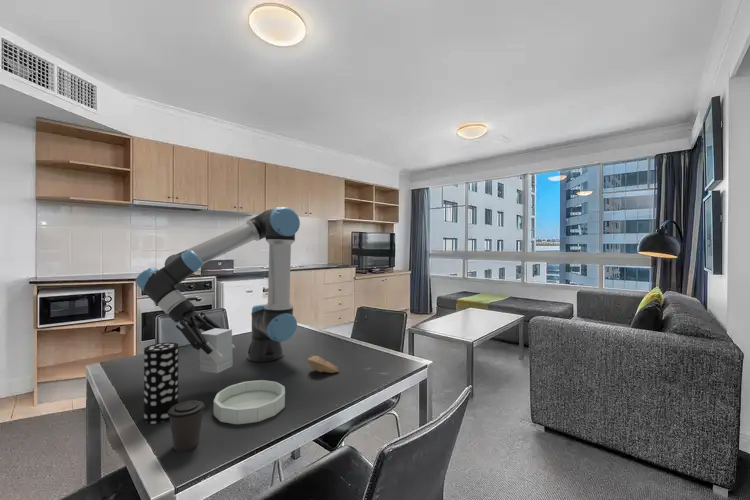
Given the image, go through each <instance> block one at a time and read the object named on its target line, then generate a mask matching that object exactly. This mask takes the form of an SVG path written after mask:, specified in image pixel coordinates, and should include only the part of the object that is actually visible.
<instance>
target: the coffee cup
mask: <svg viewBox="0 0 750 500" xmlns="http://www.w3.org/2000/svg"><path fill="white" fill-rule="evenodd" d="M205 407H206V405H205V403H204V402H203V401H201V400H187V401H182V402H178V404H176V405H174V406H172V407H171V408H170V409H169V411H168V413H167V414H168V416H170V420H169V422H170V429H171V436H172V443H173V449H174V451H176V452H185V451H190V450H192V449H194V448H195V447H197V446H198V445H199V441H200V435H201V427H202V419H203V418H202V417H203V410H204V409H205Z"/></svg>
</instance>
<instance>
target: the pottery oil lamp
mask: <svg viewBox="0 0 750 500" xmlns="http://www.w3.org/2000/svg"><path fill="white" fill-rule="evenodd" d="M306 361H307V363H308V365H309V366H310V367H311V370H313V371H316V372H319V373H328V374H329V373H330V374H336V373H337V372H339V367H338V366H337V365H335V364H333V363H331V362H330V361H327V360H326V359H324V358H322V357H321V356H319V355H311V354H309V355H308V358H307V359H306Z"/></svg>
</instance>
